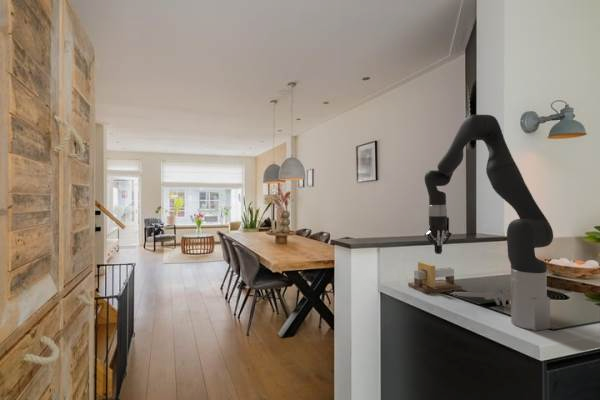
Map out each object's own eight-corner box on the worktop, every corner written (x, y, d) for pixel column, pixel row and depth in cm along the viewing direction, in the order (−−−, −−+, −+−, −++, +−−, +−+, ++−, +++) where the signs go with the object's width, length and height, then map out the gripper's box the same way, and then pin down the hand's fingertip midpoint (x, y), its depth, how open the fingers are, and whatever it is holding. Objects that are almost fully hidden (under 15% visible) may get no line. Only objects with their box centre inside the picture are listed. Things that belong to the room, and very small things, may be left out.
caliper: (505, 307, 121) (505, 290, 121) (504, 308, 120) (504, 290, 120) (451, 294, 137) (451, 279, 137) (449, 295, 136) (449, 279, 136)
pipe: (454, 276, 146) (454, 268, 146) (418, 279, 142) (418, 272, 141) (449, 274, 150) (448, 267, 149) (414, 278, 145) (413, 270, 145)
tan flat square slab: (435, 287, 140) (435, 265, 140) (431, 287, 140) (431, 266, 140) (422, 281, 149) (421, 261, 149) (418, 282, 149) (417, 261, 148)
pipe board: (461, 289, 142) (461, 278, 142) (425, 293, 137) (425, 282, 137) (442, 282, 154) (442, 272, 154) (408, 286, 149) (408, 275, 149)
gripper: (430, 215, 144) (431, 256, 144) (456, 214, 147) (456, 254, 147) (419, 215, 151) (420, 253, 151) (444, 214, 155) (445, 251, 155)
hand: (438, 253), depth 149 cm, fingers closed
